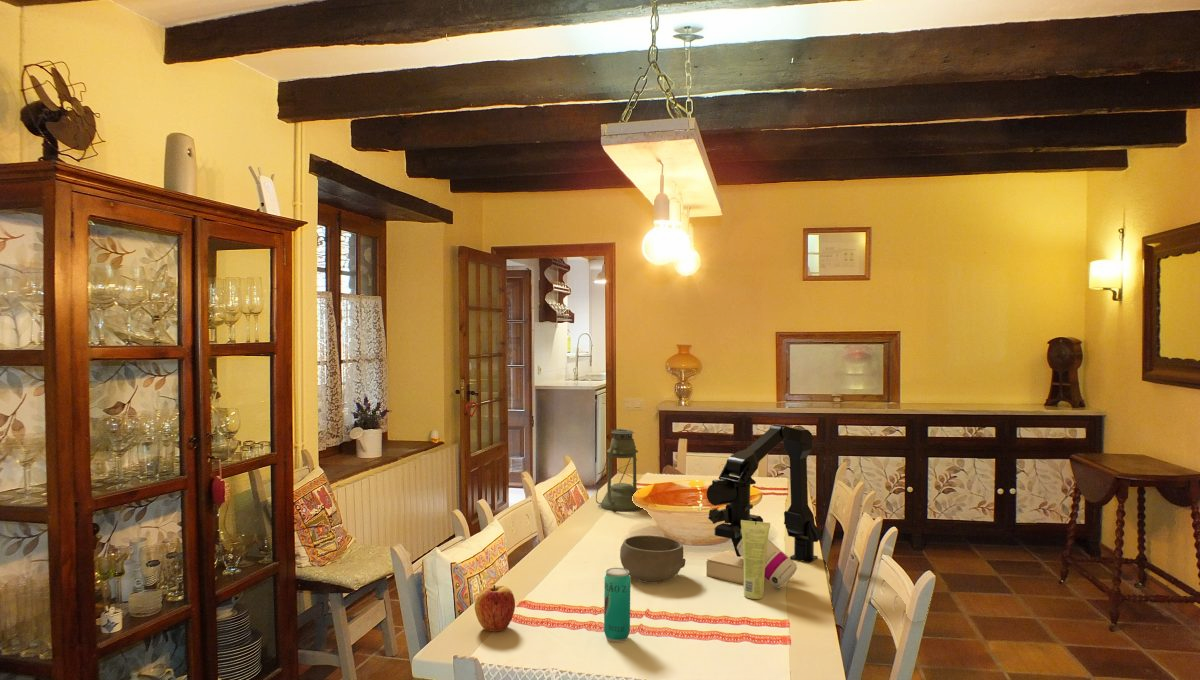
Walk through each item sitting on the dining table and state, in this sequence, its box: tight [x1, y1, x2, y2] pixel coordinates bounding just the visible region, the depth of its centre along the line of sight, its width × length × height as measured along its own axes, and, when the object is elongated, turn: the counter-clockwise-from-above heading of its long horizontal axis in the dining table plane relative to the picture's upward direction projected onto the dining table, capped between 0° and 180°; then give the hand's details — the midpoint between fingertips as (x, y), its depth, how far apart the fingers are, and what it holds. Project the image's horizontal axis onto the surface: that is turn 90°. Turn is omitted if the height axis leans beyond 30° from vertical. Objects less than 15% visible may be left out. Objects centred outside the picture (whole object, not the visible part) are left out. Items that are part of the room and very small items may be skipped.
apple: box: [474, 584, 516, 632], centre depth 174 cm, size 9×9×10 cm
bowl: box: [619, 534, 686, 584], centre depth 211 cm, size 17×18×10 cm
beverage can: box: [603, 567, 631, 643], centre depth 169 cm, size 6×6×15 cm
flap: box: [719, 549, 743, 559], centre depth 217 cm, size 5×14×1 cm, turn 53°
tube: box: [741, 520, 771, 600], centre depth 197 cm, size 6×5×20 cm
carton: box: [705, 553, 767, 585], centre depth 214 cm, size 12×14×5 cm
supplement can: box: [737, 538, 798, 589], centre depth 205 cm, size 8×8×15 cm
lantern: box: [595, 428, 642, 513], centre depth 297 cm, size 21×18×30 cm
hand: (738, 556), depth 214 cm, fingers closed
